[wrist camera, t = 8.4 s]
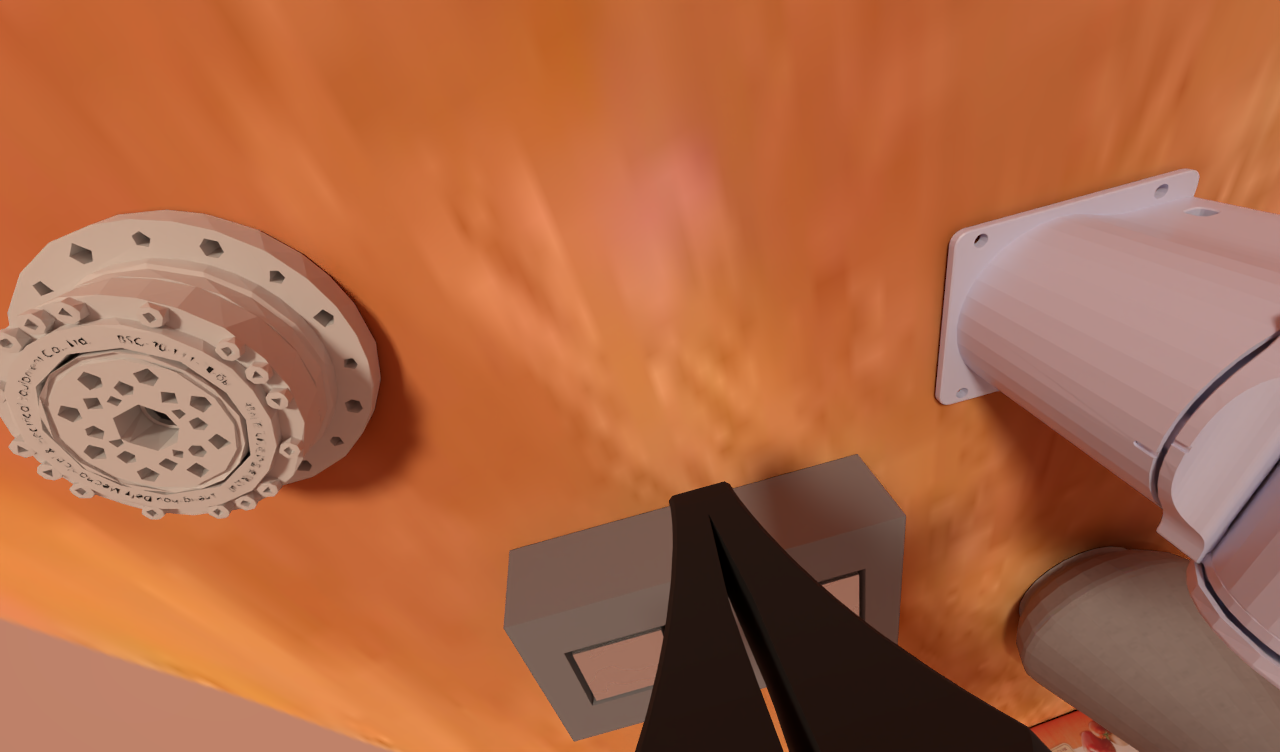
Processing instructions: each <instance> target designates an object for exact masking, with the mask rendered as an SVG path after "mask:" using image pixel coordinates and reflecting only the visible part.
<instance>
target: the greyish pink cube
mask: <svg viewBox="0 0 1280 752" xmlns="http://www.w3.org/2000/svg"><path fill="white" fill-rule="evenodd" d="M664 630H665V625H663V626H660V627H656V628H652V629H649V630H645V631H642V632H638V633H635V634H631V635H628V636H624V637H620V638H617V639H613V640H610V641H606V642H603V643H599V644H595V645H592V646H588V647H585V648H581V649H578V650H574V651H572V654H573V657H574V659H575V661H576V662H577V664H578V666H579V668H580V670H581V672H582V674H583V676H584V678H585V680H586V681H587V683H588V685H589V687H590V689H591V691H592V693H593V695H594V697H595V699H596V701H598V700H601V699H605V698H609V697H612V696H616V695H619V694H623V693H626V692H630V691H633V690H637V689H640V688H644V687H648V686H651V685H654V680H655V676H656V672H657V667H658V663H659V658H660V652H661V647H662V642H663V636H664Z"/></svg>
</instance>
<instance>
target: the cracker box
mask: <svg viewBox="0 0 1280 752" xmlns="http://www.w3.org/2000/svg"><path fill="white" fill-rule="evenodd" d="M1030 729H1031V730H1032V731H1033V732H1034V733H1035V734H1036V735H1037V737H1038V738H1039V739H1040V740H1041V741H1042V742H1043V743H1044V744H1045V745H1046V746H1047V747H1048V748H1049V749H1050V750H1051V751H1052V752H1139V751H1138V750H1136V749H1135V748H1133V747H1132V746H1130V745H1129V744H1127V743H1126V742H1124V741H1123V740H1121V739H1120V738H1118V737H1117V736H1116V735H1114V734H1113V733H1111V732H1110V731H1108V730H1107V729H1105V728H1104V727H1102V726H1101V725H1099V724H1098V723H1096V722H1095V721H1093V720H1092V719H1091V718H1089V717H1088V716H1086V715H1085V714H1083V713H1082V712H1080V711H1079V710H1078V711H1075V712H1072V713H1070V714H1067V715H1064V716H1062V717H1059V718H1056V719H1054V720H1051V721H1048V722H1046V723H1043V724H1040V725H1038V726H1035V727H1032V728H1030Z"/></svg>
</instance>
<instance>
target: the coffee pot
mask: <svg viewBox="0 0 1280 752" xmlns="http://www.w3.org/2000/svg"><path fill="white" fill-rule="evenodd" d="M1189 562H1190V560H1188V559H1185V558H1182V557H1180V556H1177V555H1174V554H1171V553H1169V552H1160V551H1152V550H1141V549H1130V550H1127V549H1125V548H1123V547H1111V546H1110V547H1103V548H1096V549H1093V550H1090V551H1086V552H1083V553H1080V554H1078V555H1076V556H1074V557H1071V558H1069V559H1067V560H1065V561H1063V562H1061V563H1060V564H1058V565H1057V566H1055V567H1053V568H1052V569H1050V570H1049V571H1047V572H1046V573H1045V574H1044V575H1043V576H1041V577H1040V578H1039V579H1038V580H1037V581H1035V583H1034V584H1033V585H1032V586H1031V587H1030V588H1029V589H1028V591H1027V592H1026V593H1025V595H1024V597H1023V599H1022V600H1021V602H1020V607H1019V614H1020V618H1019V623H1018V628H1017V639H1016V644H1017V647H1018V651H1019V654H1020V657H1021V660H1022V663H1023V666H1024V669H1025V671H1026V673H1027V674H1028V675H1029V676H1030V677H1031V678H1033V679H1034V680H1035V681H1037V682H1038V683H1039V684H1041V685H1042V686H1043V687H1045V688H1046V689H1048V690H1049V691H1051V692H1052V693H1054V694H1055V695H1057V696H1058V697H1060V698H1061V699H1063V700H1064V701H1066V702H1067V703H1068V704H1070V705H1071V706H1073V707H1074V708H1076V709H1077V710H1079V711H1080V712H1082V713H1083V714H1085V715H1086V716H1088V717H1089V718H1091V719H1092V720H1093V721H1095V722H1096V723H1098V724H1099V725H1101V726H1102V727H1104V728H1105V729H1107V730H1108V731H1110V732H1111V733H1113V734H1114V735H1116V736H1117V737H1118V738H1120V739H1121V740H1123V741H1124V742H1126V743H1127V744H1129V745H1130V746H1132V747H1133V748H1135V749H1136V750H1138V751H1139V752H1280V690H1279V689H1278V688H1276V687H1275V686H1274V685H1272V684H1271V683H1270V682H1268V681H1267V680H1266V679H1265V678H1263V677H1262V676H1261V675H1260V674H1258V673H1257V672H1256V671H1255V670H1253V669H1252V668H1251V667H1250V666H1249V665H1247V664H1246V663H1245V662H1244V661H1243V660H1242V659H1241V658H1240V657H1239V656H1237V655H1236V654H1235V653H1234V652H1233V651H1232V650H1231V649H1230V648H1229V647H1228V646H1227V645H1226V644H1225V643H1224V642H1223V641H1222V640H1221V639H1220V638H1219V637H1218V635H1217V634H1216V633H1215V632H1214V631H1213V630H1212V629H1211V628H1210V626H1209V625H1208V624H1207V622H1206V621H1205V620H1204V618H1203V617H1202V616H1201V614H1200V613H1199V611H1198V610H1197V608H1196V606H1195V604H1194V602H1193V600H1192V598H1191V597H1190V593H1189V590H1188V587H1187V583H1186V571H1187V567H1188V565H1189Z"/></svg>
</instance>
